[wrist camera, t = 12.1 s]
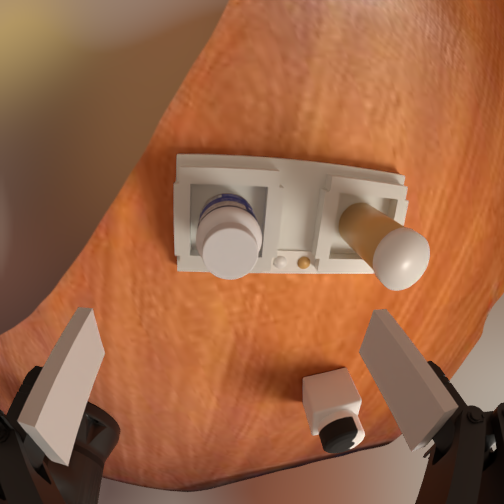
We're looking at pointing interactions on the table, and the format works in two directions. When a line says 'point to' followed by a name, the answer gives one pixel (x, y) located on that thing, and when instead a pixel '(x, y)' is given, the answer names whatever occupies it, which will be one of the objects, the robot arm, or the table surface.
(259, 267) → the rack
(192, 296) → the table surface
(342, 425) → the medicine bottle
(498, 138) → the table surface
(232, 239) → the pill bottle
